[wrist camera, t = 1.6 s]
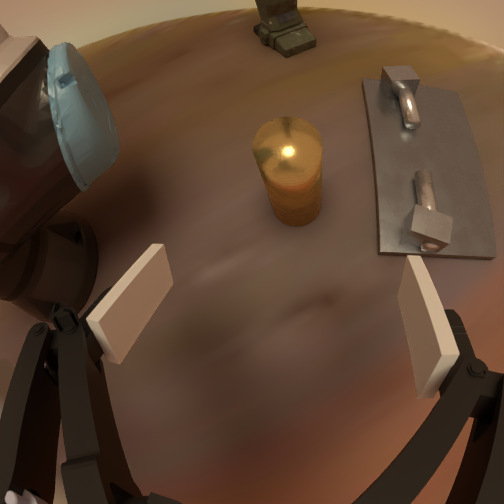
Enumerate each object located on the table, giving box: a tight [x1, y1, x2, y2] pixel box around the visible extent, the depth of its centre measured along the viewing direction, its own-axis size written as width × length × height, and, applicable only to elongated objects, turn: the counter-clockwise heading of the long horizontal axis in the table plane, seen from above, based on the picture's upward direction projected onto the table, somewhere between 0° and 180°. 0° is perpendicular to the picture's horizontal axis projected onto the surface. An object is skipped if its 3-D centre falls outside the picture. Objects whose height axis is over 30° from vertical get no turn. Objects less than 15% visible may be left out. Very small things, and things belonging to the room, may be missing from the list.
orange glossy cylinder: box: [252, 117, 322, 226], centre depth 26 cm, size 5×5×11 cm
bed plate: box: [362, 66, 497, 260], centre depth 27 cm, size 23×14×5 cm, turn 175°
